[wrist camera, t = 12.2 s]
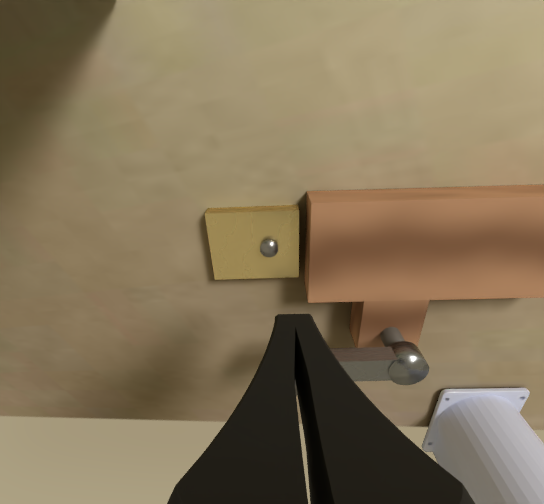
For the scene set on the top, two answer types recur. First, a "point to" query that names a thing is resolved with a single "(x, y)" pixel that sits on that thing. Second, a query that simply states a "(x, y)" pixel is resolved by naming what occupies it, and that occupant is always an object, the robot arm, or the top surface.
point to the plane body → (421, 252)
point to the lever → (383, 363)
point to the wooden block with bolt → (254, 241)
